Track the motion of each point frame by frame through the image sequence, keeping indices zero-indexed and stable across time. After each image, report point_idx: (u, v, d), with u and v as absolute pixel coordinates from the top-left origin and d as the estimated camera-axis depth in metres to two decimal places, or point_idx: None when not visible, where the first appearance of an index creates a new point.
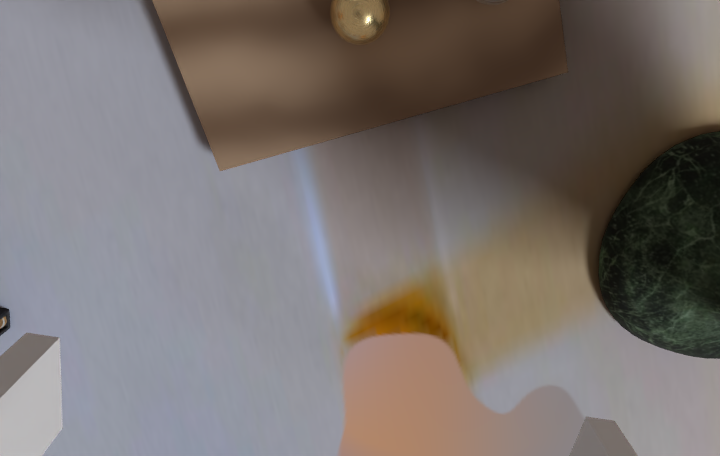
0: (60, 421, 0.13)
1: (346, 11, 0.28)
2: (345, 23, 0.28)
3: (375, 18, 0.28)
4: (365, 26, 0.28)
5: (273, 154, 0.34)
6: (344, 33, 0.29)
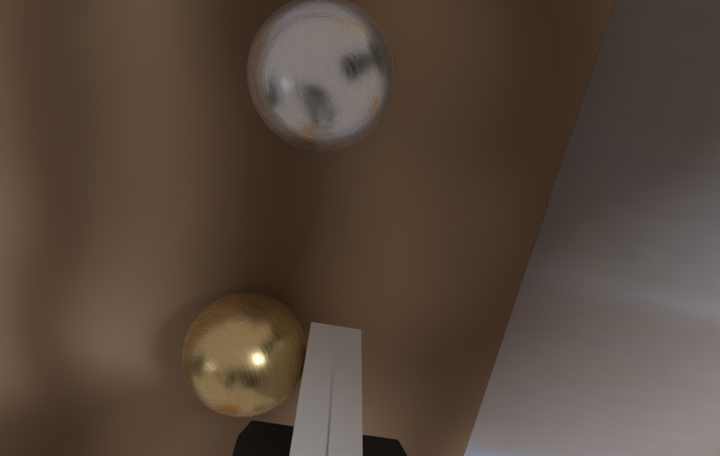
0: None
1: (196, 396, 0.14)
2: (214, 409, 0.14)
3: (224, 362, 0.13)
4: (227, 389, 0.13)
5: None
6: (239, 416, 0.14)
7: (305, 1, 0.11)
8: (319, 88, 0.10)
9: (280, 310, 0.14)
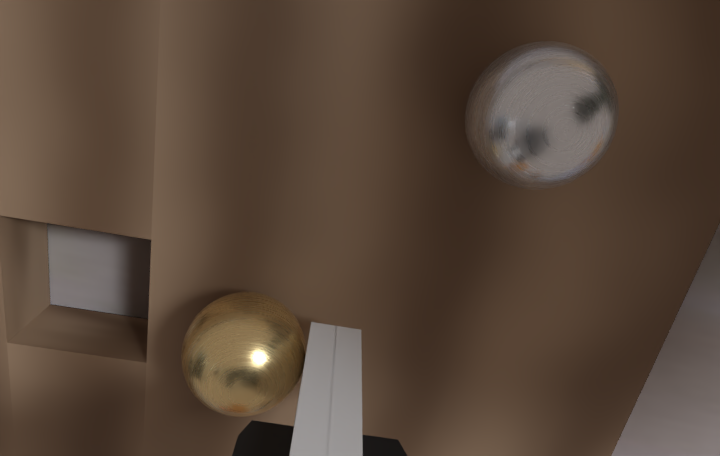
0: None
1: None
2: None
3: None
4: None
5: None
6: None
7: (545, 48, 0.11)
8: (566, 134, 0.11)
9: (225, 313, 0.14)
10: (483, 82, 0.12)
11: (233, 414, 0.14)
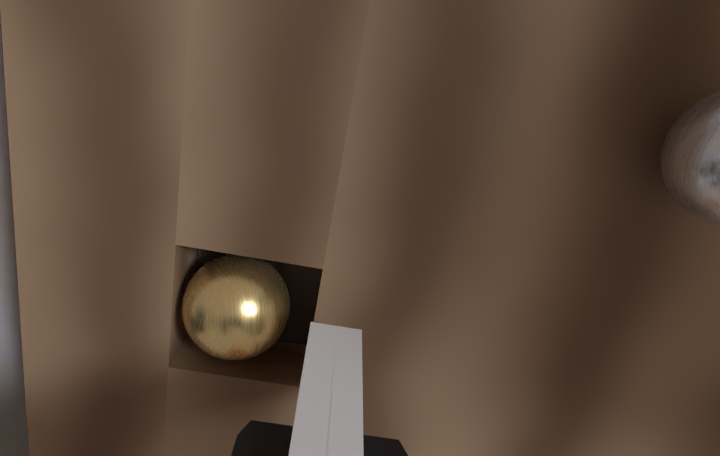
0: None
1: None
2: (195, 343, 0.16)
3: (198, 300, 0.15)
4: (197, 323, 0.15)
5: None
6: (213, 355, 0.16)
7: None
8: None
9: (262, 272, 0.16)
10: (699, 125, 0.12)
11: None
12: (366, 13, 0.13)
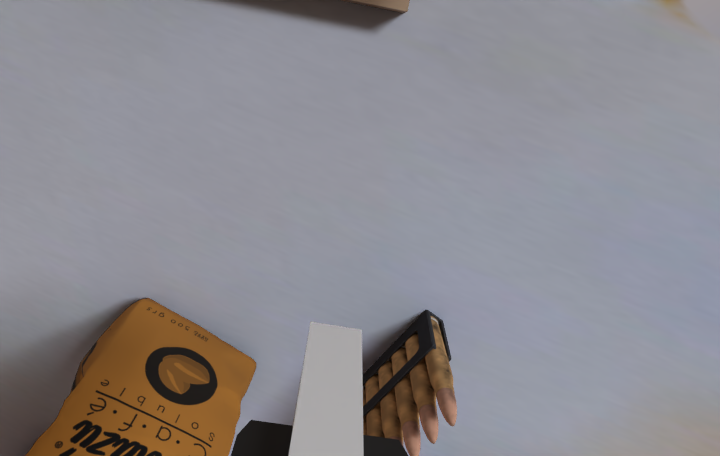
0: None
1: None
2: None
3: None
4: None
5: None
6: None
7: None
8: None
9: None
10: None
11: None
12: None
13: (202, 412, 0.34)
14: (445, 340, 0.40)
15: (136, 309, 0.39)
